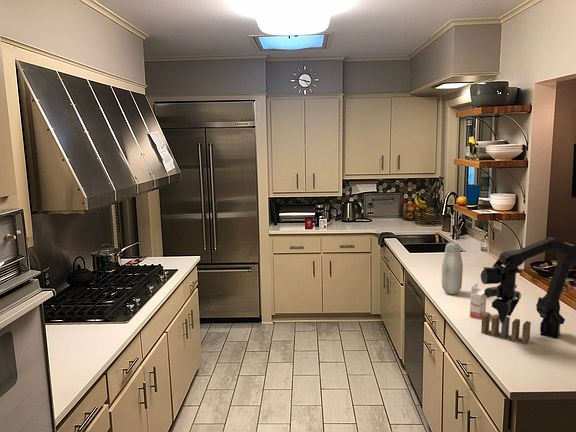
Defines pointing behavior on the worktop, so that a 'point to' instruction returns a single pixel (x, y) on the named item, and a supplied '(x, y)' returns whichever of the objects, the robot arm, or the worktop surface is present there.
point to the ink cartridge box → (477, 302)
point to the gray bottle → (452, 269)
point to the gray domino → (505, 328)
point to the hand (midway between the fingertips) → (505, 319)
